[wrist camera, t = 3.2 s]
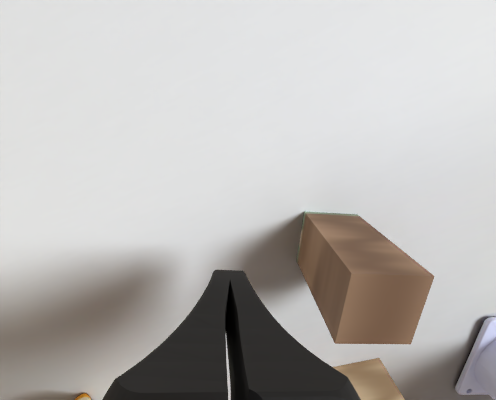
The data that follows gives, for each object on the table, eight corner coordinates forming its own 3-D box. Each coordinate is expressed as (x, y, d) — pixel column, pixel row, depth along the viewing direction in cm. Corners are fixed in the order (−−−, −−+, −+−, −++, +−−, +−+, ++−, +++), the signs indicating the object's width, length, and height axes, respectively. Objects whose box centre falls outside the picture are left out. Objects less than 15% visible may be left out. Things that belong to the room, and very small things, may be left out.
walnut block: (357, 214, 18) (434, 276, 11) (346, 262, 19) (410, 344, 12) (304, 211, 18) (351, 273, 11) (296, 260, 19) (335, 343, 12)
